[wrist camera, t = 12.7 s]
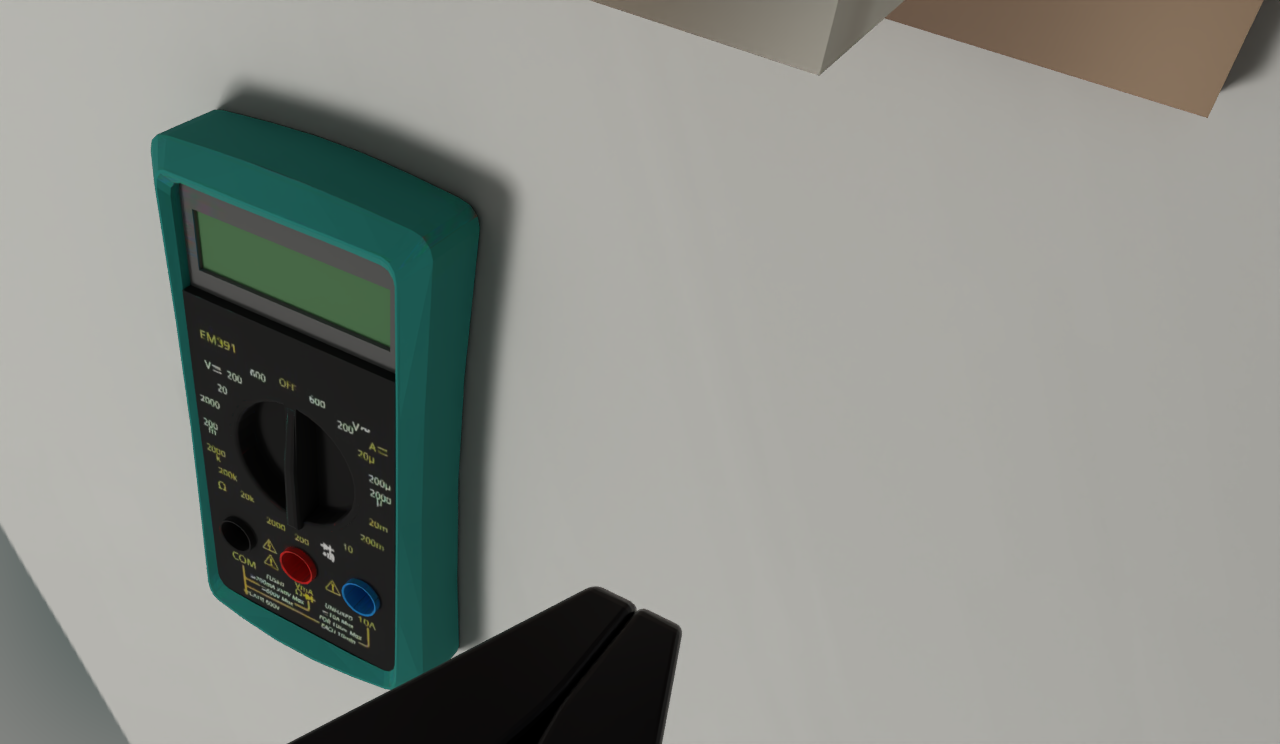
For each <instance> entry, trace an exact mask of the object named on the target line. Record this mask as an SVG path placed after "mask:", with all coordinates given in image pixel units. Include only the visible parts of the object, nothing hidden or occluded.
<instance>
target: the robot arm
mask: <svg viewBox="0 0 1280 744" xmlns="http://www.w3.org/2000/svg"><path fill="white" fill-rule="evenodd" d="M681 637H682V630H681V628H680V626H679V625H677V624H676V623H674V622H672V621H670V620H668V619H665V618H663V617H661V616H659V615H657V614H655V613H653V612H651V611H649V610H646V609H640V610H638V611H637V610H636V606H635V605H634V604H633V603H632V602H631V601H629V600H627V599H625V598H623V597H620V596H618V595H616V594H614V593H612V592H610V591H608V590H606V589H604V588H601V587H590V588H587V589H585V590H583V591H581V592H579V593H577V594H575V595H573V596H571V597H569V598H567V599H566V600H564V601H562V602H560V603H558V604H556V605H554V606H552V607H550V608H548V609H546V610H544V611H542V612H540V613H539V614H537V615H535V616H533V617H531V618H529V619H527V620H525V621H523V622H521V623H519V624H517V625H515V626H513V627H512V628H510V629H508V630H506V631H504V632H502V633H500V634H498V635H496V636H494V637H492V638H490V639H488V640H486V641H485V642H483V643H481V644H479V645H477V646H475V647H473V648H471V649H469V650H467V651H465V652H463V653H461V654H459V655H458V656H456V657H454V658H452V659H450V660H448V661H446V662H444V663H442V664H440V665H438V666H436V667H434V668H432V669H431V670H429V671H427V672H425V673H423V674H421V675H419V676H417V677H415V678H413V679H411V680H409V681H407V682H405V683H404V684H402V685H400V686H398V687H396V688H394V689H392V690H390V691H388V692H386V693H384V694H382V695H380V696H378V697H376V698H375V699H373V700H371V701H369V702H367V703H365V704H363V705H361V706H359V707H357V708H355V709H353V710H351V711H349V712H348V713H346V714H344V715H342V716H340V717H338V718H336V719H334V720H332V721H330V722H328V723H326V724H324V725H322V726H321V727H319V728H317V729H315V730H313V731H311V732H309V733H307V734H305V735H303V736H301V737H299V738H297V739H295V740H294V741H292V742H290V743H288V744H662V740H663V735H664V730H665V724H666V719H667V713H668V708H669V702H670V697H671V691H672V686H673V681H674V675H675V670H676V664H677V659H678V653H679V648H680V643H681Z"/></svg>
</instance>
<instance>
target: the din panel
mask: <svg viewBox="0 0 1280 744" xmlns="http://www.w3.org/2000/svg"><path fill="white" fill-rule="evenodd" d="M591 1H594V2H597V3H600V4H603V5H606V6H609V7H612V8H615V9H618V10H621V11H624V12H627V13H630V14H633V15H636V16H640V17H643V18H646V19H649V20H652V21H655V22H658V23H661V24H664V25H667V26H670V27H673V28H676V29H679V30H682V31H685V32H688V33H691V34H694V35H697V36H700V37H703V38H706V39H709V40H712V41H716V42H719V43H722V44H725V45H728V46H731V47H734V48H737V49H740V50H743V51H746V52H749V53H752V54H755V55H758V56H761V57H764V58H767V59H770V60H773V61H776V62H779V63H782V64H785V65H788V66H792V67H795V68H798V69H801V70H804V71H807V72H810V73H813V74H816V75H820V74H822V73H823V72H824V71H825V70H826V69H827V68H828V67H830V66H831V65H832V64H833V63H834V62H835V61H836V60H837V59H839V58H840V57H841V56H842V55H843V54H844V53H845V52H847V51H848V50H849V49H850V48H851V47H852V46H853V45H854V44H856V43H857V42H858V41H859V40H860V39H861V38H862V37H864V36H865V35H866V34H867V33H868V32H869V31H870V30H872V29H873V28H874V27H875V26H876V25H877V24H878V23H879V22H881V21H882V20H883V19H884V18H886V19H889V20H892V21H895V22H899V23H902V24H905V25H908V26H912V27H915V28H918V29H921V30H925V31H928V32H931V33H934V34H938V35H941V36H944V37H947V38H951V39H954V40H957V41H960V42H964V43H967V44H970V45H973V46H976V47H980V48H983V49H986V50H989V51H993V52H996V53H999V54H1002V55H1006V56H1009V57H1012V58H1015V59H1019V60H1022V61H1025V62H1028V63H1032V64H1035V65H1038V66H1041V67H1045V68H1048V69H1051V70H1054V71H1057V72H1061V73H1064V74H1067V75H1070V76H1074V77H1077V78H1080V79H1083V80H1087V81H1090V82H1093V83H1096V84H1100V85H1103V86H1106V87H1109V88H1113V89H1116V90H1119V91H1122V92H1125V93H1129V94H1132V95H1135V96H1138V97H1142V98H1145V99H1148V100H1151V101H1155V102H1158V103H1161V104H1164V105H1168V106H1171V107H1174V108H1177V109H1181V110H1184V111H1187V112H1190V113H1194V114H1197V115H1200V116H1203V117H1206V118H1208V116H1209V114H1210V112H1211V110H1212V107H1213V105H1214V103H1215V101H1216V99H1217V97H1218V95H1219V93H1220V91H1221V89H1222V86H1223V84H1224V82H1225V80H1226V78H1227V76H1228V74H1229V72H1230V70H1231V68H1232V65H1233V63H1234V61H1235V59H1236V57H1237V55H1238V53H1239V51H1240V49H1241V46H1242V44H1243V42H1244V40H1245V38H1246V36H1247V34H1248V32H1249V30H1250V28H1251V25H1252V23H1253V21H1254V19H1255V17H1256V15H1257V13H1258V11H1259V9H1260V7H1261V4H1262V2H1263V0H591Z"/></svg>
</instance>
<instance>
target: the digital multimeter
mask: <svg viewBox="0 0 1280 744" xmlns="http://www.w3.org/2000/svg"><path fill="white" fill-rule="evenodd" d="M151 157H152V166H153V176H154V185H155V191H156V198H157V204H158V210H159V217H160V223H161V229H162V236H163V242H164V248H165V255H166V261H167V268H168V274H169V280H170V287H171V293H172V299H173V306H174V312H175V319H176V326H177V333H178V340H179V347H180V354H181V361H182V368H183V375H184V382H185V389H186V397H187V404H188V411H189V418H190V425H191V433H192V442H193V450H194V459H195V468H196V476H197V485H198V494H199V502H200V511H201V520H202V529H203V538H204V547H205V556H206V565H207V574H208V582H209V586H210V589H211V591H212V593H213V595H214V596H215V597H216V598H217V599H218V600H219V601H220V602H222V603H223V604H225V605H226V606H227V607H229V608H230V609H231V610H233V611H234V612H235V613H237V614H238V615H239V616H241V617H242V618H243V619H245V620H246V621H248V622H250V623H251V624H253V625H254V626H256V627H257V628H259V629H260V630H262V631H263V632H265V633H266V634H268V635H269V636H271V637H272V638H274V639H275V640H277V641H279V642H281V643H283V644H284V645H286V646H288V647H290V648H292V649H294V650H296V651H297V652H299V653H301V654H303V655H305V656H307V657H309V658H310V659H312V660H314V661H317V662H319V663H321V664H324V665H326V666H328V667H331V668H333V669H335V670H338V671H340V672H342V673H345V674H347V675H349V676H352V677H354V678H357V679H360V680H362V681H365V682H368V683H371V684H373V685H376V686H379V687H381V688H384V689H389V690H392V689H394V688H396V687H398V686H400V685H402V684H404V683H405V682H407V681H409V680H411V679H413V678H415V677H417V676H419V675H421V674H423V673H425V672H427V671H429V670H431V669H432V668H434V667H436V666H438V665H440V664H442V663H444V662H446V661H448V660H450V659H451V658H452V656H453V655H454V654H455V653H456V652H457V650H458V648H459V626H458V589H457V566H458V484H459V462H460V446H461V430H462V412H463V394H464V377H465V367H466V357H467V348H468V338H469V328H470V319H471V309H472V299H473V289H474V280H475V270H476V260H477V251H478V241H479V231H480V227H479V221H478V216H477V215H476V213H475V212H474V210H473V209H472V207H471V206H470V205H469V204H468V203H466V202H465V201H463V200H462V199H460V198H458V197H456V196H454V195H452V194H450V193H448V192H446V191H444V190H442V189H440V188H438V187H436V186H433V185H431V184H429V183H427V182H425V181H423V180H421V179H419V178H417V177H415V176H413V175H411V174H409V173H406V172H404V171H402V170H400V169H397V168H395V167H393V166H391V165H388V164H386V163H384V162H382V161H379V160H377V159H375V158H373V157H370V156H368V155H366V154H364V153H361V152H358V151H356V150H353V149H350V148H347V147H345V146H342V145H339V144H337V143H334V142H331V141H328V140H326V139H323V138H320V137H318V136H315V135H311V134H308V133H305V132H301V131H298V130H294V129H291V128H288V127H284V126H281V125H278V124H274V123H271V122H267V121H263V120H259V119H255V118H251V117H248V116H244V115H240V114H236V113H232V112H228V111H224V110H213V111H210V112H208V113H206V114H203V115H201V116H199V117H197V118H194V119H192V120H190V121H187V122H185V123H183V124H180V125H178V126H176V127H174V128H171V129H169V130H167V131H164V132H162V133H160V134H158V135H156V136H155V137H154V138H153V139H152V143H151ZM395 382H396V546H395ZM354 517H355V518H354ZM348 524H349V525H348Z"/></svg>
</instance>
